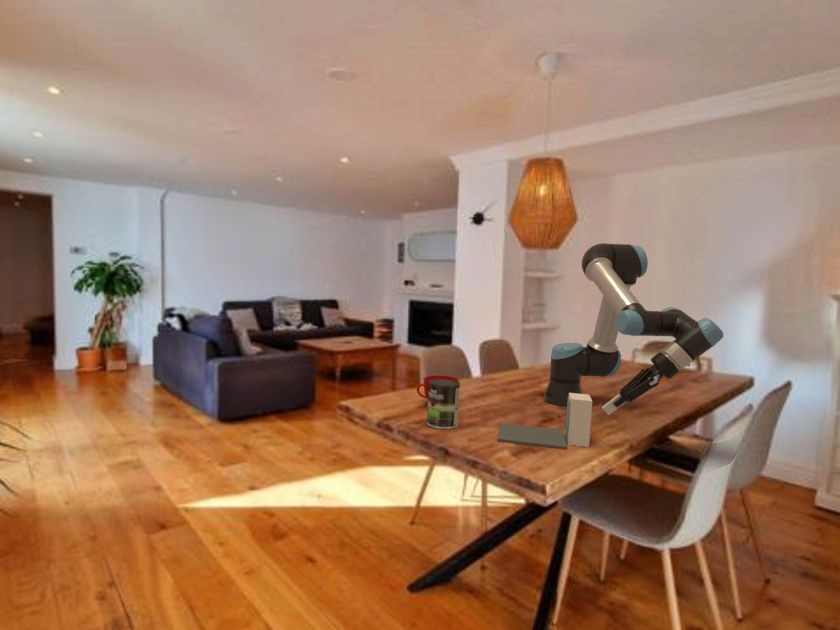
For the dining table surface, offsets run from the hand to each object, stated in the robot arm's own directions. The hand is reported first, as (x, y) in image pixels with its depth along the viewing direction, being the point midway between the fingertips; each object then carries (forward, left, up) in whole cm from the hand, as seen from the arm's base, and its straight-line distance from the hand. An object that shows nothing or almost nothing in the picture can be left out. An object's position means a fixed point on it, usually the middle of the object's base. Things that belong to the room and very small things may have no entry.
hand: (605, 411), depth 146 cm
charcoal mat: (-20, -6, -10) cm, 23 cm away
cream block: (-7, -2, -10) cm, 13 cm away
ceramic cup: (-60, +6, -11) cm, 61 cm away
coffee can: (-48, -12, -11) cm, 51 cm away
